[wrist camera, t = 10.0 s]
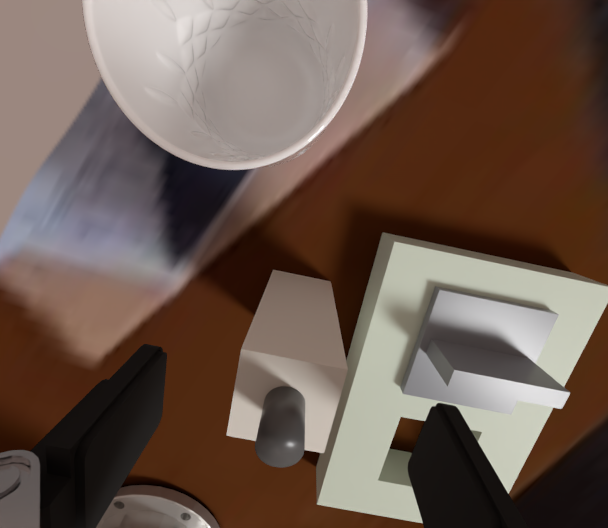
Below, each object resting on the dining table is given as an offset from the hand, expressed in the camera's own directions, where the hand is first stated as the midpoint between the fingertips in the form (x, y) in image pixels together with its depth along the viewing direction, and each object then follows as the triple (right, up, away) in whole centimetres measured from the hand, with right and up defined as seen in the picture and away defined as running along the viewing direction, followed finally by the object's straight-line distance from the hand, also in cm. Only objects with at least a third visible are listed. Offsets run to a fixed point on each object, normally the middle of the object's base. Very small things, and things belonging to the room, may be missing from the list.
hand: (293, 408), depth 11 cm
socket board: (+10, -4, +12) cm, 16 cm away
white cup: (-2, +14, +8) cm, 17 cm away
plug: (0, +2, +11) cm, 11 cm away
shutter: (+11, 0, +8) cm, 13 cm away
